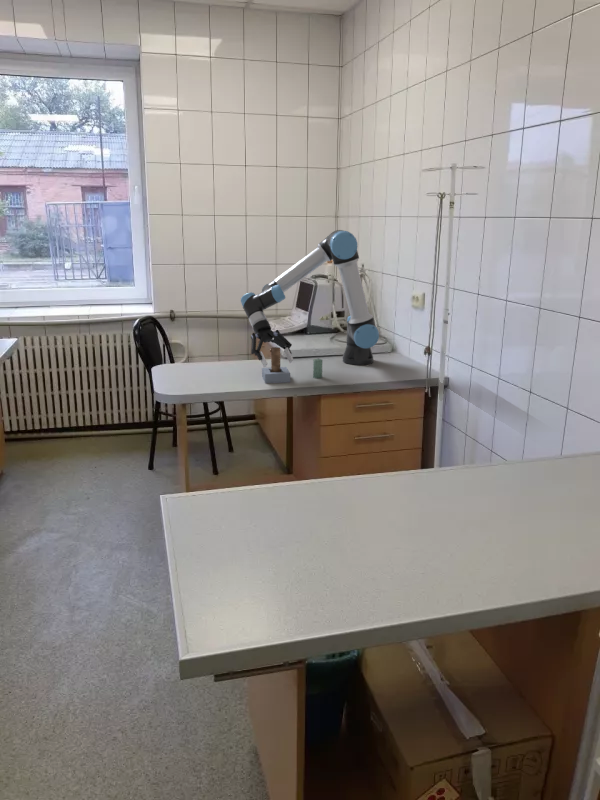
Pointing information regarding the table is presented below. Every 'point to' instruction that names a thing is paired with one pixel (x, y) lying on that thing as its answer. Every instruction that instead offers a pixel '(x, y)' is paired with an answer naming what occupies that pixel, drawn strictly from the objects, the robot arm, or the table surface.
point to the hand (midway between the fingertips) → (278, 363)
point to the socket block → (276, 375)
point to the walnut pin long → (275, 359)
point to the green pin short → (317, 368)
